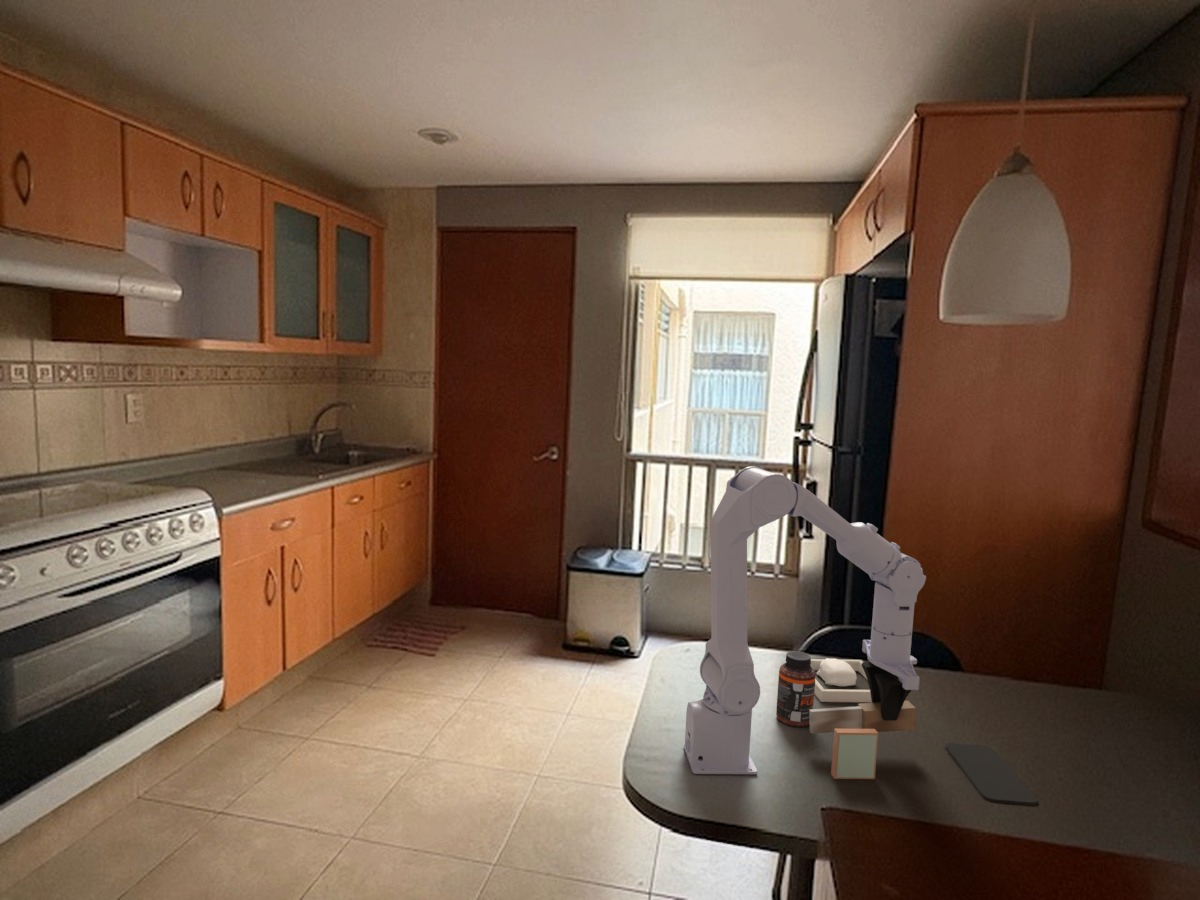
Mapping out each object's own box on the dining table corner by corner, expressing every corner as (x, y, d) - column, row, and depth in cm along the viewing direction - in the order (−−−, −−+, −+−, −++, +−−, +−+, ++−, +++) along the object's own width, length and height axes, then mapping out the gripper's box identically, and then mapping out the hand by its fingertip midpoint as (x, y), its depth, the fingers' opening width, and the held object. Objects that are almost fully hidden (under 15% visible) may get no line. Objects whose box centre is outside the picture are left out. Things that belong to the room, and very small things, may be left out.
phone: (985, 798, 96) (942, 742, 111) (984, 804, 96) (942, 747, 111) (1041, 803, 95) (991, 746, 110) (1040, 809, 95) (990, 751, 110)
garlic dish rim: (821, 701, 125) (821, 691, 125) (794, 668, 139) (794, 658, 139) (894, 702, 126) (895, 692, 125) (860, 669, 140) (861, 659, 140)
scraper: (813, 736, 106) (813, 714, 106) (807, 728, 108) (807, 706, 108) (915, 729, 107) (915, 707, 106) (907, 721, 109) (907, 700, 109)
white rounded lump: (811, 671, 139) (813, 653, 138) (845, 672, 139) (846, 653, 139) (826, 689, 131) (827, 669, 131) (861, 689, 131) (863, 670, 131)
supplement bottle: (804, 732, 114) (809, 665, 112) (770, 720, 117) (774, 655, 116) (817, 718, 118) (822, 654, 117) (784, 708, 122) (788, 645, 121)
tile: (834, 779, 100) (837, 733, 99) (831, 774, 101) (834, 728, 101) (875, 779, 100) (878, 733, 100) (871, 774, 102) (874, 728, 101)
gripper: (942, 647, 99) (934, 738, 101) (894, 614, 114) (888, 693, 115) (894, 647, 99) (887, 738, 100) (852, 613, 113) (846, 693, 115)
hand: (884, 714), depth 108 cm, fingers closed on scraper, 2 cm apart
